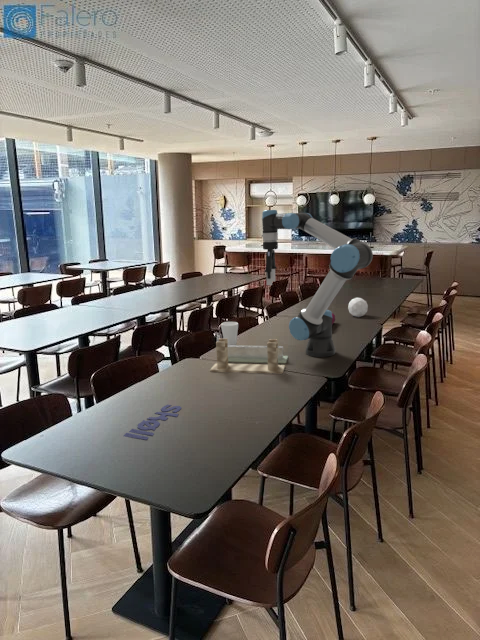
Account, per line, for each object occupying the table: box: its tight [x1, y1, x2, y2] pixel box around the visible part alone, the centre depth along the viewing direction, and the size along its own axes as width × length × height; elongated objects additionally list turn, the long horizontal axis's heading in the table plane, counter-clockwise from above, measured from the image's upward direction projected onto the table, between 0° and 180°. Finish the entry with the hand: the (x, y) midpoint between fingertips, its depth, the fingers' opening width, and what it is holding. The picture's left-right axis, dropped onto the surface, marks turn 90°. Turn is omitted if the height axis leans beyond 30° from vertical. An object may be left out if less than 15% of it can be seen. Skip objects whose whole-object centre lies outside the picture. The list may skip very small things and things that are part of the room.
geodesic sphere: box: [347, 297, 369, 318], centre depth 331 cm, size 14×14×14 cm
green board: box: [228, 355, 289, 364], centre depth 239 cm, size 34×10×1 cm, turn 79°
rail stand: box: [209, 337, 286, 375], centre depth 222 cm, size 34×10×14 cm, turn 79°
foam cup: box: [220, 321, 239, 345], centre depth 264 cm, size 10×9×13 cm
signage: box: [123, 404, 183, 441], centre depth 170 cm, size 28×1×10 cm
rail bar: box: [228, 344, 284, 359], centre depth 238 cm, size 30×3×6 cm, turn 79°
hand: (271, 283), depth 243 cm, fingers open, 13 cm apart
